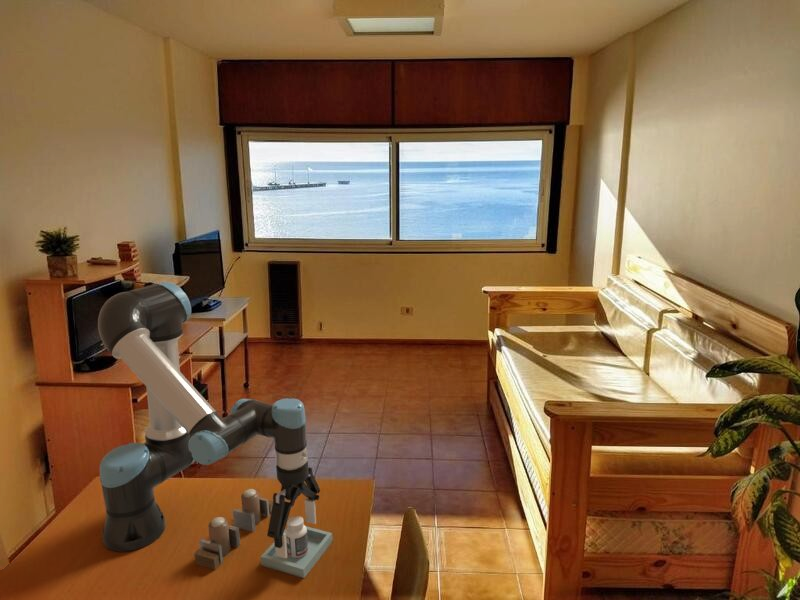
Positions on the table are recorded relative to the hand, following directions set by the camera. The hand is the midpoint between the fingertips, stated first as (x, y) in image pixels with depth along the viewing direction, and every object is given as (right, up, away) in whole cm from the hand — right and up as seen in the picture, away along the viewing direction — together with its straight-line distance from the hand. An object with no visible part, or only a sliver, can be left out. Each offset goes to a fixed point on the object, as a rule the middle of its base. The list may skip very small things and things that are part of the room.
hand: (297, 538), depth 143 cm
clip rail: (-17, -2, +8) cm, 19 cm away
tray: (0, -4, +1) cm, 4 cm away
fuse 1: (-20, -4, +2) cm, 20 cm away
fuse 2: (-15, -1, +14) cm, 20 cm away
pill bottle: (0, -4, +1) cm, 4 cm away
